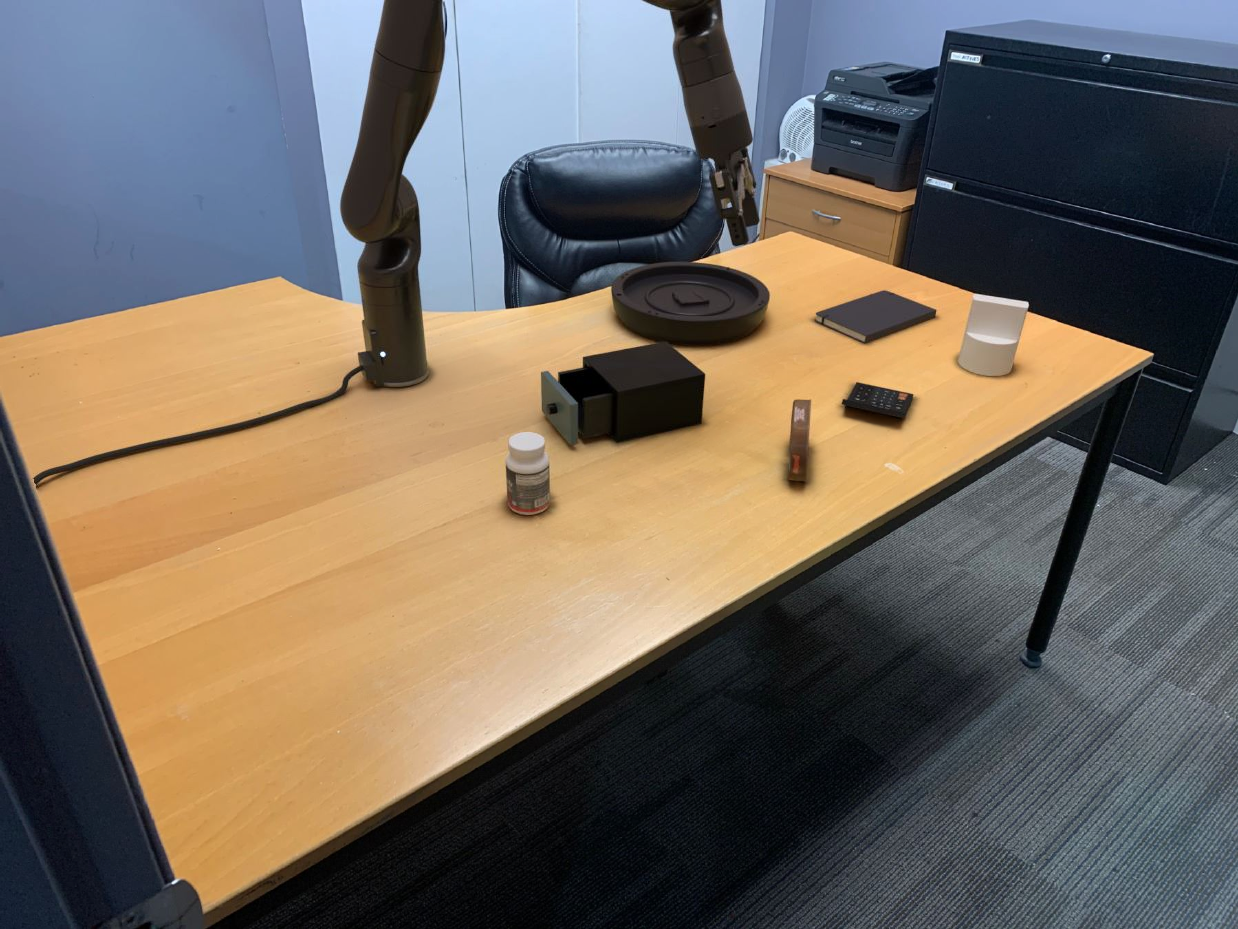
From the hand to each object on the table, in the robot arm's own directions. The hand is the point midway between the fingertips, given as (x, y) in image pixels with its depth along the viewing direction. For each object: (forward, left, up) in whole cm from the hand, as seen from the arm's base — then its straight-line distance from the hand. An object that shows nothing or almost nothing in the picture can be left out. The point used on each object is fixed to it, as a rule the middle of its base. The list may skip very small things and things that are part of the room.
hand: (747, 234), depth 127 cm
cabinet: (-10, +9, -30) cm, 33 cm away
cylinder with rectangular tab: (+54, +1, -31) cm, 62 cm away
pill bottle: (-35, -7, -31) cm, 47 cm away
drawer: (-19, +9, -29) cm, 36 cm away
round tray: (+16, +40, -31) cm, 53 cm away
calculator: (+26, -4, -31) cm, 40 cm away
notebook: (+49, +25, -31) cm, 62 cm away
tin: (+4, -13, -31) cm, 33 cm away
